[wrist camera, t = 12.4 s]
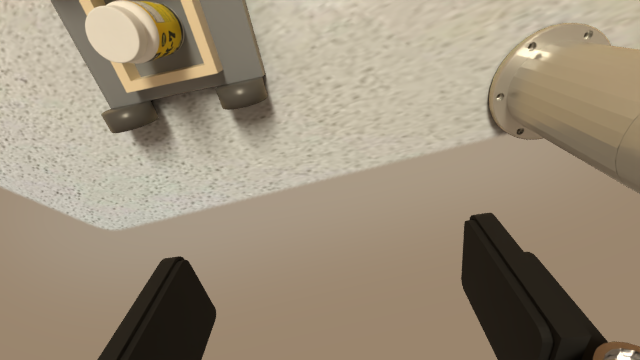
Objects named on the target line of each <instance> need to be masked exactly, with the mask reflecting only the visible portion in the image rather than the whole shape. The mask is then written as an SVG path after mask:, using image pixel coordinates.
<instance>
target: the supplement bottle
mask: <svg viewBox="0 0 640 360" xmlns="http://www.w3.org/2000/svg"><path fill="white" fill-rule="evenodd" d="M85 30H86V34H87V37H88V40H89V42H90V43H91V45H92V46H93V48H94V49H95V50H96V51H97V52H98V53H99V54H100V55H101V56H103V57H104V58H106V59H108V60H110V61H112V62H116V63H127V62H129V63H135V64H139V63H145V62H148V61H152V60H155V59H158V58H161V57H164V56H167V55H171V54H173V53H175V52H177V51H178V50H179V49H180V47H181V46H182V44H183V41H184V28H183V25H182V22H181V20H180V18H179V17H178V15H177V14H176V13H175V12H174V11H173V10H172V9H171V8H169V7H168V6H166V5H164V4H162V3H159V2H148V1H126V0H119V1H114V2H111V3H109V4H107V5H106V6H99V7H96V8H94V9H92V10H91V11H90V12H89V13H88V15H87V17H86V21H85Z"/></svg>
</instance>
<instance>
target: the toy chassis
mask: <svg viewBox="0 0 640 360" xmlns="http://www.w3.org/2000/svg"><path fill="white" fill-rule="evenodd" d="M114 1H119V0H51V2H52V4H53V6H54V7H55V9H56V11H57V13H58V15H59V16H60V18H61V20H62V22H63V24H64V25H65V27H66V29H67V31H68V32H69V34H70V36H71V38H72V40H73V41H74V43H75V45H76V47H77V49H78V50H79V52H80V54H81V56H82V58H83V59H84V61H85V63H86V65H87V66H88V68H89V70H90V72H91V74H92V75H93V77H94V79H95V81H96V83H97V84H98V86H99V88H100V90H101V92H102V93H103V95H104V97H105V99H106V100H107V102H108V104H109V106H110V108H111V109H110V110H107V111H105V112H103V113H102V114H101V115H102V117H103V119H104V120H105V122H106V124H107V125H108V127H109V129H110V131H111V132H112V133H120V132H125V131H129V130H133V129H136V128H139V127H142V126H144V125H147V124H149V123H151V122H153V121H155V120H156V119H157V118H158V115H157V113H156V111H155V109H154V107H153V105H152V103H151V101H150V100H154V99H159V98H163V97H168V96H173V95H177V94H182V93H187V92H191V91H196V90H201V89H205V88H210V87H215V86H219V87H217V88H216V91H217V94H218V97H219V100H220V102H221V105H222V108H223V109H227V110H230V109H238V108H243V107H247V106H250V105H253V104H256V103H258V102H261V101H263V100H264V99H266V98H267V92H266V89H265V85H264V82H263V79H262V76H264V75H265V70H264V66H263V63H262V59H261V56H260V52H259V48H258V45H257V41H256V38H255V34H254V31H253V27H252V23H251V20H250V16H249V13H248V9H247V6H246V2H245V0H126V1H148V2H159V3H162V4H164V5H166V6H168V7H169V8H171V9H172V10H173V11H174V12H175V13H176V14H177V15H178V17H179V18H180V20H181V22H182V25H183V28H184V41H183V44H182V46H181V47H180V49H179V50H178V51H177V52H175V53H173V54H171V55H167V56H164V57H161V58H158V59H155V60H152V61H148V62H145V63H139V64H135V63H129V62H127V63H116V62H112V61H110V60H108V59H106V58H104V57H103V56H101V55H100V54H99V53H98V52H97V51H96V50H95V49H94V48H93V46H92V45H91V43H90V42H89V40H88V37H87V34H86V30H85V21H86V17H87V15H88V13H89V12H90V11H91V10H92V9H94V8H96V7H99V6H106V5H107V4H109V3H111V2H114ZM220 85H221V86H220Z"/></svg>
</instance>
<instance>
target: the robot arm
mask: <svg viewBox="0 0 640 360" xmlns="http://www.w3.org/2000/svg"><path fill="white" fill-rule="evenodd" d="M528 46H529V47H528ZM497 95H498V96H497ZM489 106H490V111H491V114H492V117H493V119H494V120H495V122H496V124H497V125H498V126H499V127H500V128H501V129H502V130H504V131H505V132H507V133H508V134H510V135H512V136H514V137H517V138H522V139H542V138H545V139H547V140H548V141H550V142H552V143H553V144H555V145H557V146H558V147H560V148H562V149H564V150H565V151H567V152H569V153H571V154H572V155H574V156H575V157H577V158H579V159H581V160H582V161H584V162H586V163H587V164H589V165H591V166H593V167H594V168H596V169H598V170H599V171H601V172H603V173H604V174H606V175H608V176H609V177H611V178H613V179H615V180H616V181H618V182H620V183H621V184H623V185H625V186H626V187H628V188H630V189H632V190H634V191H636V192H637V193H639V194H640V50H638V49H631V48H624V47H616V46H611V44H610V42H609V40H608V39H607V37H606V36H605V35H604V34H603V33H602V32H601V31H599V30H598V29H597V28H594V27H592V26H589V25H586V24H578V23H562V24H557V25H552V26H549V27H547V28H544V29H542V30H539V31H537V32H535V33H534V34H532V35H530V36H529V37H527V38H526V39H524V40H523V41H522V42H521V43H519V44H518V45H517V46H516V47H515V48H514V49H513V50H512V51H511V52H510V53H509V54H508V55H507V56H506V58H505V59H504V61H503V62H502V64H501V65H500V66H499V68H498V70H497V72H496V74H495V76H494V78H493V82H492V85H491V88H490V95H489ZM461 279H462V286H463V289H464V291H465V293H466V295H467V297H468V299H469V301H470V304H471V305H472V308H473V310H474V312H475V314H476V316H477V318H478V320H479V322H480V324H481V326H482V328H483V330H484V332H485V334H486V336H487V338H488V340H489V342H490V345H491V346H492V349H493V351H494V353H495V355H496V357H497V359H498V360H640V347H639V346H636V345H633V344H629V343H625V342H607V340H606V339H605V338H604V337H603V336H602V334H601V333H600V332H599V331H598V330H597V328H596V327H595V326H594V325H593V324H592V323H591V321H590V320H589V319H588V318H587V317H586V315H585V314H584V313H583V312H582V311H581V309H580V308H579V307H578V306H577V305H576V304H575V302H574V301H573V300H572V299H571V298H570V296H569V295H568V294H567V293H566V292H565V290H564V289H563V288H562V287H561V286H560V285H559V283H558V282H557V281H556V280H555V279H554V277H553V276H552V275H551V274H550V273H549V271H548V270H547V269H546V268H545V267H544V265H543V264H542V263H541V262H540V261H539V260H538V258H537V257H536V256H535V255H534V254H532V253H530V252H523V250H522V249H521V248H520V247H519V245H518V244H517V243H516V242H515V240H514V239H513V238H512V237H511V235H510V234H509V233H508V232H507V230H506V229H505V228H504V227H503V226H502V224H501V223H500V222H499V221H498V219H497V218H496V217H495V216H494V215H493V214H492V213H485V214H478V215H472V216H471V217H470V220H469V221H465V226H464V243H463V260H462V277H461ZM215 319H216V309H215V307H214V305H213V304H212V302H211V300H210V298H209V297H208V295H207V293H206V291H205V289H204V288H203V286H202V284H201V282H200V281H199V279H198V277H197V275H196V274H195V272H194V270H193V268H192V267H191V265H190V263H189V262H188V261H187V260H184V258H183V257H172V258H165V259H163V260H162V261H161V262H160V264H159V265H158V266H157V268H156V270H155V271H154V273H153V274H152V276H151V278H150V279H149V280H148V282H147V284H146V285H145V287H144V288H143V290H142V291H141V293H140V294H139V296H138V298H137V299H136V301H135V302H134V304H133V305H132V307H131V309H130V310H129V312H128V313H127V315H126V316H125V318H124V319H123V321H122V322H121V324H120V326H119V327H118V329H117V330H116V332H115V333H114V335H113V337H112V338H111V340H110V341H109V343H108V344H107V346H106V347H105V349H104V351H103V352H102V354H101V355H100V357H99V358H98V360H201V359H202V356H203V353H204V351H205V348H206V345H207V342H208V339H209V336H210V333H211V330H212V328H213V325H214V322H215Z"/></svg>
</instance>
